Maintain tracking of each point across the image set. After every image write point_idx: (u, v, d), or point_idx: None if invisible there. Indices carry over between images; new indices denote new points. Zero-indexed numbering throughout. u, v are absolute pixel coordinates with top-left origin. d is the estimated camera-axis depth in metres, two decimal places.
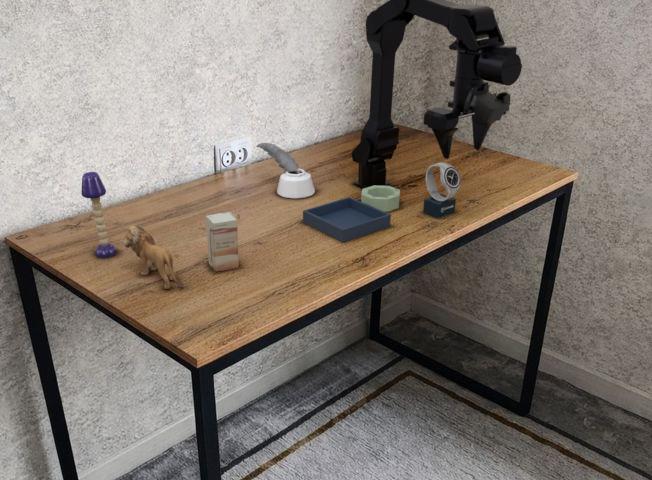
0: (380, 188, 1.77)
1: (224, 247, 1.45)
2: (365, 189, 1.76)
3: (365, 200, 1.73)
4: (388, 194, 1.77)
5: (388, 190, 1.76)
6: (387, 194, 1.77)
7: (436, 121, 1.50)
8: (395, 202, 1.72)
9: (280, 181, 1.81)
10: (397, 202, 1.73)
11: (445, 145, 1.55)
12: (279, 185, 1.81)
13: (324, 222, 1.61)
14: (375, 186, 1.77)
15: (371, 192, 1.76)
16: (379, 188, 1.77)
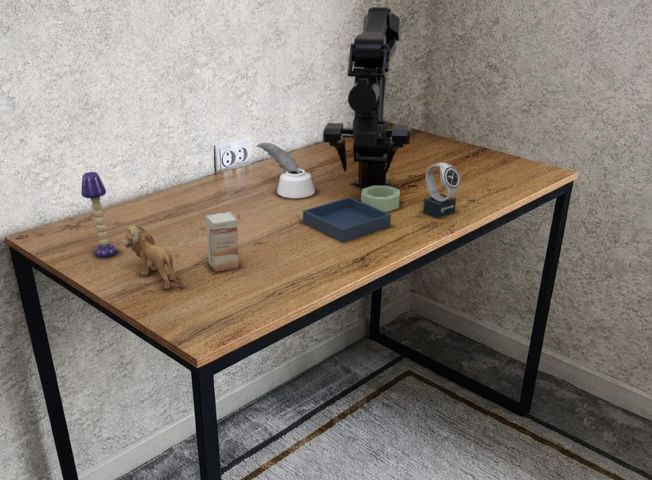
0: (380, 188, 1.77)
1: (224, 247, 1.45)
2: (365, 189, 1.76)
3: (365, 200, 1.73)
4: (388, 194, 1.77)
5: (388, 190, 1.76)
6: (387, 194, 1.77)
7: None
8: (395, 202, 1.72)
9: (280, 181, 1.81)
10: (397, 202, 1.73)
11: None
12: (279, 185, 1.81)
13: (324, 222, 1.61)
14: (375, 186, 1.77)
15: (371, 192, 1.76)
16: (379, 188, 1.77)
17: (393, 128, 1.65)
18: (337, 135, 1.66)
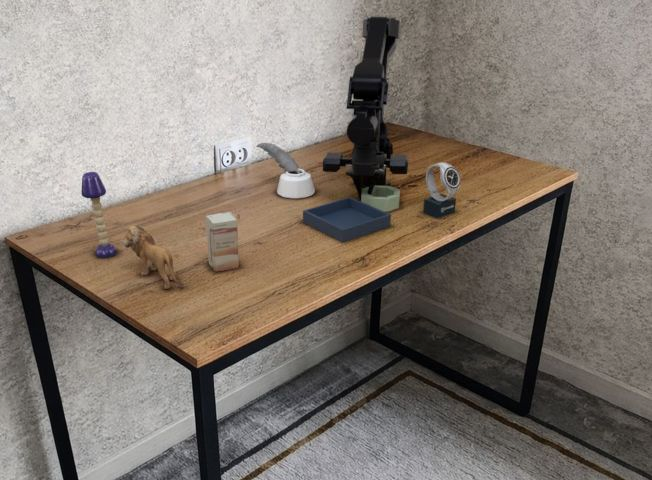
0: (380, 188, 1.77)
1: (224, 247, 1.45)
2: (365, 189, 1.76)
3: (365, 200, 1.73)
4: (388, 194, 1.77)
5: (388, 190, 1.76)
6: (387, 194, 1.77)
7: None
8: (395, 202, 1.72)
9: (280, 181, 1.81)
10: (397, 202, 1.73)
11: (356, 187, 1.74)
12: (279, 185, 1.81)
13: (324, 222, 1.61)
14: (375, 186, 1.77)
15: None
16: (379, 188, 1.77)
17: (391, 158, 1.69)
18: (336, 165, 1.69)
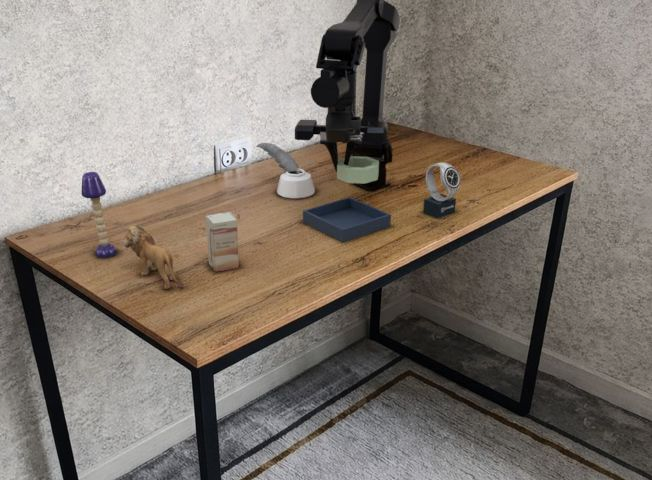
0: (358, 159, 1.63)
1: (224, 247, 1.45)
2: (341, 159, 1.63)
3: (341, 171, 1.59)
4: (366, 165, 1.63)
5: (366, 161, 1.63)
6: (365, 165, 1.64)
7: None
8: (373, 173, 1.59)
9: (280, 181, 1.81)
10: (375, 174, 1.59)
11: None
12: (279, 185, 1.81)
13: (324, 222, 1.61)
14: (352, 157, 1.64)
15: (348, 163, 1.63)
16: (357, 159, 1.63)
17: (369, 125, 1.55)
18: (309, 132, 1.56)
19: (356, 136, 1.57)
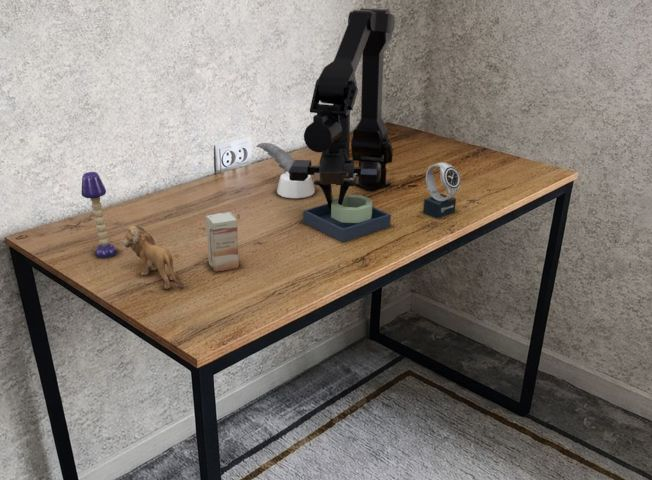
0: (352, 198, 1.66)
1: (224, 247, 1.45)
2: (336, 198, 1.65)
3: (335, 211, 1.62)
4: (360, 204, 1.66)
5: (360, 200, 1.66)
6: (359, 204, 1.66)
7: None
8: (367, 213, 1.61)
9: (280, 181, 1.81)
10: (369, 213, 1.62)
11: None
12: (279, 185, 1.81)
13: (324, 222, 1.61)
14: (347, 195, 1.66)
15: (342, 202, 1.66)
16: (351, 198, 1.66)
17: (362, 166, 1.58)
18: (304, 173, 1.58)
19: None
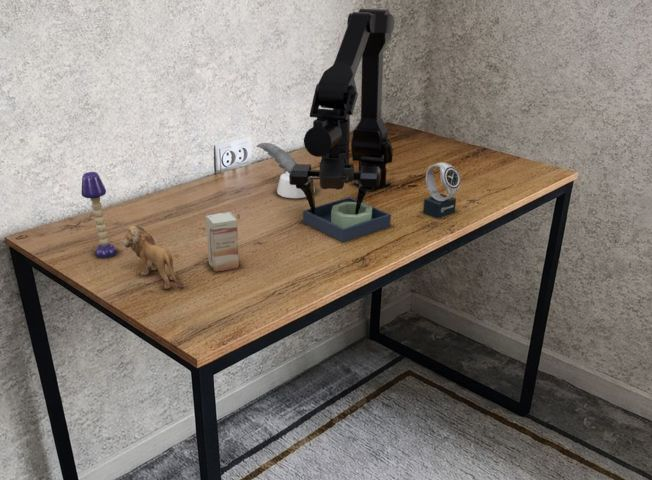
0: (352, 205, 1.67)
1: (224, 247, 1.45)
2: (335, 205, 1.66)
3: (335, 218, 1.63)
4: (360, 211, 1.67)
5: (360, 207, 1.66)
6: (359, 211, 1.67)
7: None
8: (367, 220, 1.62)
9: (280, 181, 1.81)
10: None
11: None
12: (279, 185, 1.81)
13: (324, 222, 1.61)
14: (346, 202, 1.67)
15: (342, 209, 1.67)
16: (351, 205, 1.67)
17: (362, 170, 1.58)
18: (304, 177, 1.59)
19: None
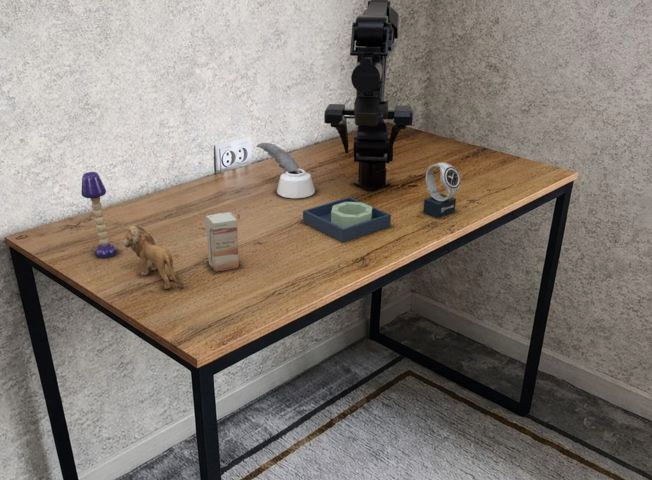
0: (352, 205, 1.67)
1: (224, 247, 1.45)
2: (335, 205, 1.66)
3: (335, 218, 1.63)
4: (360, 211, 1.67)
5: (360, 207, 1.66)
6: (359, 211, 1.67)
7: None
8: (367, 220, 1.62)
9: (280, 181, 1.81)
10: None
11: None
12: (279, 185, 1.81)
13: (324, 222, 1.61)
14: (346, 202, 1.67)
15: (342, 209, 1.67)
16: (351, 205, 1.67)
17: (395, 109, 1.62)
18: (338, 116, 1.63)
19: None
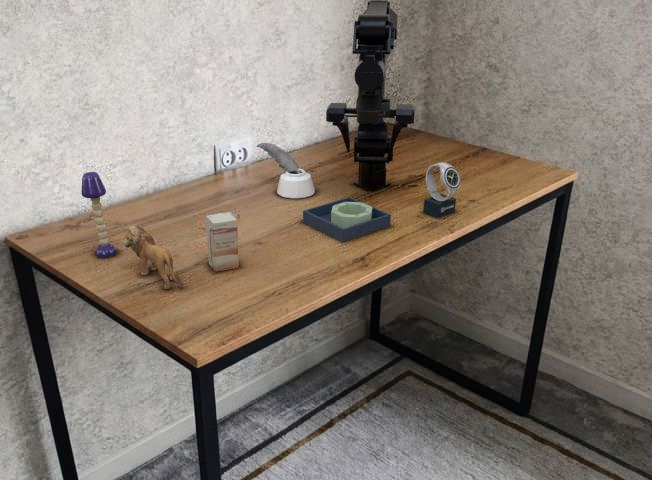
0: (352, 205, 1.67)
1: (224, 247, 1.45)
2: (335, 205, 1.66)
3: (335, 218, 1.63)
4: (360, 211, 1.67)
5: (360, 207, 1.66)
6: (359, 211, 1.67)
7: None
8: (367, 220, 1.62)
9: (280, 181, 1.81)
10: None
11: None
12: (279, 185, 1.81)
13: (324, 222, 1.61)
14: (346, 202, 1.67)
15: (342, 209, 1.67)
16: (351, 205, 1.67)
17: (397, 107, 1.63)
18: (340, 114, 1.63)
19: None
